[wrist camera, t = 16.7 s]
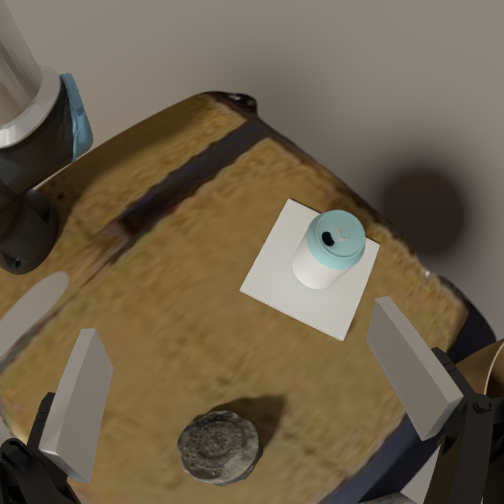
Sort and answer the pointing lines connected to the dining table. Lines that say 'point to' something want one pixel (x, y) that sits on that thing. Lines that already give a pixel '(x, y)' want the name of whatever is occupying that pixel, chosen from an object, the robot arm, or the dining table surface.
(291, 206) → the white mat
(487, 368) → the plant pot
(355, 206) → the dining table surface
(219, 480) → the fossil
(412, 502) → the juice carton
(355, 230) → the can
